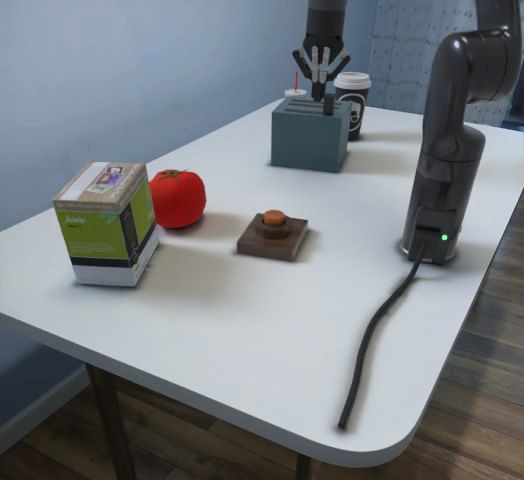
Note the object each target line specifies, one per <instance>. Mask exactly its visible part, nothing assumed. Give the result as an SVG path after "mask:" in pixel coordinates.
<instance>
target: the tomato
mask: <svg viewBox="0 0 524 480" xmlns="http://www.w3.org/2000/svg"><path fill="white" fill-rule="evenodd" d="M149 186H150V191H151V197H152V202H153V208H154V214H155V219H156V225H158V226H160V227H162V228H166V229H167V228H168V229H180V228H181V229H182V228H184V227H188V226H190V225H192V224H194V223H195V222H197V221H198V220H199V219H200V218H201V217H202V215H203V213H204V212H205V208H206V205H207V193H206V186H205V184H204V180H203V179H202V178H201V176H200V175H199V174H198V173H196V172H194V171H189V168H187V169H184V170H179V169H173V168H172V169H169V168H168V169H167V168H166V169H164V170H162V171H157V172H156V174H155V175H154V176H153V178H152V179H151V180H150V181H149Z"/></svg>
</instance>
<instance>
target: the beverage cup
mask: <svg viewBox="0 0 524 480" xmlns="http://www.w3.org/2000/svg"><path fill="white" fill-rule="evenodd" d="M298 72H299V71H298V70H295V78H294V79H295V80H294V81H295V82H294V88H291V89H286V90H285V91H284V96H285V98H286V97H287V96H291V97H303V98H307V94H308V91H307V90H305V89H299V88H298V74H299V73H298Z"/></svg>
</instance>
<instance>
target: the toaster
mask: <svg viewBox="0 0 524 480" xmlns="http://www.w3.org/2000/svg"><path fill="white" fill-rule="evenodd" d="M323 105H324V98H323V99H322V100H321V101H320V102H316V101H314V98H312V97H305V98H303V97H291V96H287V97H286V96H285V98H284V99H283V100H282V101H281V102H280V103H279V104H278V105H277V106H276V107H275V108H274V109H272V111H271V127H270V129H271V130H270V131H271V132H270V133H271V134H270V137H271V138H270V146H271V147H270V166H274V167H282V168H283V167H284V168H292V169H300V170H308V171H309V170H310V171H319V172H326V173H327V172H328V173H336V174H337V173H338V170H339V168H340V167H341V165H342V162H343V161H344V158H345V156H346V155H347V153H348V143H349V141H348V135H349V126H350V117H351V108H352V102H351V101H339V100H335V105H334V111H333V113H332V114H323Z"/></svg>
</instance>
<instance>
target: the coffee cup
mask: <svg viewBox="0 0 524 480" xmlns="http://www.w3.org/2000/svg"><path fill="white" fill-rule="evenodd" d="M333 81H334V82H333V86H334V87H335V88H334V91H335V92H334V94H335V100H339V101H351V102H352V108H351V117H350V126H349V135H348V142H354V141H357V140H358V139H359V138H360V135H361V129H362V123H363V119H364V114H365V109H366V104H367V99H368V95H369V90H370V88H371V87H372V81H371V80H370V75H369V74H367V73H364V72H358V71H357V72H356V71H345V72H340V73H339V74H338V75H337V76H336V77H335V79H334V80H333Z"/></svg>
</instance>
